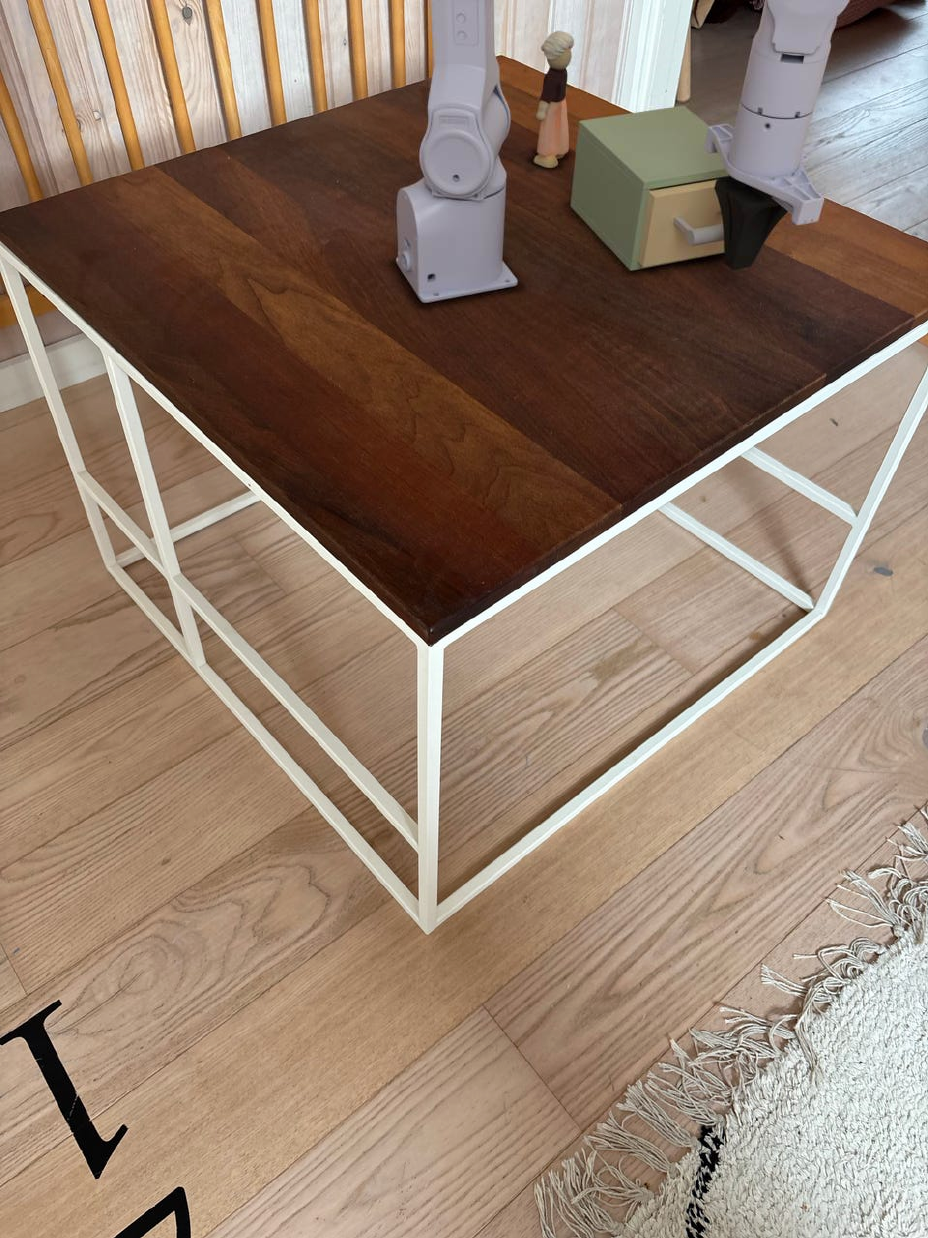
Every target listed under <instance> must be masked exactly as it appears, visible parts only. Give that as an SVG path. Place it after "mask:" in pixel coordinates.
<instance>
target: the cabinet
mask: <svg viewBox="0 0 928 1238" xmlns="http://www.w3.org/2000/svg"><path fill="white" fill-rule="evenodd" d="M709 126H710V125H709V124H707V122H705V121H704V120H702V119H701V118H700V117H699V116H697V115H696V114H695V113H694V112H692V111H691V110H690V109H689V108H687V107H686V106H685V105H679V106H672V107H664V108H659V109H651V110H650V109H649V110H644V111H638V112H637V111H636V112H631V113H625V114H617V115H610V116H603V117H596V118H589V119H582V120H579V121H578V130H577V139H576V149H575V157H574V158H575V159H574V168H573V178H572V187H571V188H572V189H571V197H570V198H571V199H570V207H571V209H572V210H573V211H574V212H575V213H576V214H577V216H579V217H580V219H581V220H583V222H584V223H585V224H586V225H587V226H588V227H589V229H591V230H592V231H593V232H594V233H595V235H596V236H597V237H598V238H599V239H600V240H601V241H602V242H603V243H604V245H606V246H607V247H608V248H609V250H611V252H612V253H613V254H614V255H615V256H616V257H617V258H618V259H619V260H620V262H622V264H623V265H624V266H625V267H626V268H627V269H628V270H629V271H632V272H633V271H636V270H643V269H648V268H652V267H657V266H658V267H659V266H665V265H669V264H674V263H678V262H679V263H680V262H684V261H690V260H694V259H701V258H705V257H710V256H715V255H716V256H717V255H720V254H724V252H721V253H716V254H711V255H705V256H700V257H695V258H690V259H685V260H679V261H674V262H669V263H664V264H658V265H653V266H648V267H642V265H641V264H640V263H639V262H638V256H639V249H640V243H641V237H642V231H643V225H644V218H645V212H646V206H647V200H648V194H649V191H650V189H654V188H660V187H666V186H672V185H678V184H684V183H690V182H696V181H702V180H708V179H713V178H719V177H725V176H729V174H728V173H727V172H726V170H725V169H724V166H723V164H722V161H721V159H720V157H719V155H718V154H717V153H708V152H707V151H706V150H705V149H704V144H705V139H706V134H707V129H708V127H709Z"/></svg>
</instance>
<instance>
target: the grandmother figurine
mask: <svg viewBox="0 0 928 1238" xmlns="http://www.w3.org/2000/svg"><path fill="white" fill-rule="evenodd" d="M574 46H575V39H574V36H573V35H571V34H570V33H568V32H565V31H564V30H556V31H553V32H552V33H550V34H549V35H548V37H547V38H546V39H545V40H544V42H543V44H542V45H541V46H540V49H541V51H542V52H543V54H544V57H545V58H546V62H547V64H548V66H549V69H548V70H547V72H546V74H545V75H544V78H543V83H542V90H541V94H540V97H539V104H538V108H537V112H536V114H535V118H536V120H537V121H538V122H540V126H539V132H538V139H537V148H536V153H537V155H535V157H534V159H533V163H534V164H536V165H538V166H541V167H543V168H546V169H547V168H548V169H552V168H555V167H557V166H558V165H559V161H558V159H561V158H563V157H564V156H565V154H567V153H569V150H570V148H569V147H570V136H569V133H570V132H569V120H568V119H569V118H568V107H567V100H566V96H567V93H568V75H569V74H568V73H569V72H568V70H567V67H569V66H570V63H571V61H572V57H573V55H572V49H573V47H574Z"/></svg>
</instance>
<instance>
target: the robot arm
mask: <svg viewBox="0 0 928 1238" xmlns="http://www.w3.org/2000/svg"><path fill="white" fill-rule="evenodd" d="M850 1H851V0H764V3H763V7H762V13H761V17H760V22H759V27H758V29H757V31H756V32H755V34H754V36H753V40H752V44H751V49H750V54H749V58H748V63H747V68H746V72H745V76H744V81H743V86H742V91H741V95H740V100H739V104H738V108H737V113H736V118H735V123H734V126H732V125H730V124H729V123H721V124H716V125H709V127H708V129H707V134H706V139H705V144H704V149H705V150H706V151H707V152H708V153H717V154H718V155H719V157H720V159H721V161H722V164H723V166H724V169H725V170H726V172H727V173H728V174H729V177H726V178H721V179H718V180H717V181H716V183H715V187H714V189H715V192H716V194H717V197H718V200H719V204H720V208H721V213H722V219H723V230H724V253H723V255H724V264H725V265H726V266H727V267H729V269H730V270H732V271H737V270H742V269H747V268H751V267H752V266H753V264H754V262H755V261H756V258H757V257H758V255H759V253H760V251H761V249H762V248H763V246H764V244H765V243H766V241H767V239H768V238H769V236H770V234H771V233H772V231H773V230H774V229H775V227H776V226H777V225H778V224H779V222H780V221H781V220H782V219H783V217H785V215H787V214H788V213H789V214H791V217H790V221H791V222H792V223H793V224H794V225H796V226H801V225H807V224H813V223H818V222H819V219H820V216H821V212H822V210H823V205H824V202H825V197H824V196H823V195H821V194H820V193H819V192H818V191H817V190H816V188H815V186H814V184H813V183H812V181H811V179H810V177H809V175H808V173H807V172H806V169H805V168H806V167H807V166H808V165H809V161H810V157H809V156H808V154H806V153H805V152H804V149H805V145H806V141H807V138H808V134H809V130H810V127H811V123H812V120H813V119H812V118H813V115H814V112H815V111H814V110H815V107H816V104H817V101H818V97H819V93H820V89H821V86H822V81H823V77H824V75H825V70H826V67H827V64H828V60H829V57H830V56H829V55H830V52H831V48H832V43H831V40H832V35H833V33H834V30H835V29H836V26H837V21H838V17H839V16H840V15H841V14H842V12H843V11H844V10H845V9H846V7H847V6H848V4H849V3H850ZM430 20H431V36H432V38H431V39H432V55H433V57H432V58H433V59H432V60H433V69H432V76H431V83H430V89H429V94H428V102H427V128H426V132H425V134H424V136H423V139H422V141H421V143H420V147H419V154H418V157H419V159H418V161H419V165H420V170H421V172H422V174H423V177H422V178H421V179H420V180H418V181H416V182H415V183H413V184H410V185H408V186H405V187H402V188H400V189H398V192H397V196H396V232H397V233H396V234H397V257H396V258H395V263H396V264H397V266H398V268H399V270H400V271H401V272H402V274H403V275H404V277H405V278H406V280H407V282H408V283H409V285H410V286H411V288H412V289H413V292H414V293H415V294H416V296H417V297H418V299H419V301H420V302H422V303H423V304H427V303H433V302H439V301H443V300H449V299H454V298H459V297H464V296H470V295H476V294H480V293H486V292H491V291H496V290H502V289H506V288H512V287H516V286H517V285H518V283H519V281H518V280H519V279H517V277H516V276H515V275H514V273H513V272H512V271H511V269H509V267H508V265H507V264H506V263H505V261H504V260H503V255H504V237H505V235H504V234H505V218H506V217H505V213H506V195H507V176H508V175H507V171H506V170H505V168H504V165H503V164H502V161H501V158H500V155H499V152H500V150H501V148H502V145H503V143H504V142H505V141H506V139H507V137H508V135H509V132H510V129H511V123H512V121H511V120H512V117H511V110H510V107H509V104H508V101H507V100H506V98H505V95H504V94H503V93H504V92H503V90H502V88H501V81H500V80H501V78H500V77H501V76H500V65H499V62H498V60H497V57H496V52H495V0H430Z"/></svg>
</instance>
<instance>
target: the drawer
mask: <svg viewBox="0 0 928 1238" xmlns="http://www.w3.org/2000/svg"><path fill="white" fill-rule="evenodd" d="M726 177H729V176H725V177H719V178H713V179H708V180H702V181H696V182H690V183H684V184H678V185H672V186H666V187H660V188H654V189H650V191H649V194H648V200H647V206H646V212H645V218H644V225H643V231H642V237H641V243H640V249H639V256H638V262H639V263H640V264H641V265H642V267H648V266H653V265H658V264H664V263H669V262H674V261H679V260H685V259H690V258H695V257H700V256H705V255H711V254H716V253H721V252H724V230H723V219H722V213H721V208H720V204H719V200H718V197H717V194H716V192H715V189H714V187H715V183H716V181H717V180H718V179H721V178H726ZM721 254H722V253H721ZM716 255H717V254H716ZM711 256H712V255H711ZM700 258H701V257H700ZM695 259H696V258H695ZM690 260H691V259H690ZM685 261H686V260H685ZM674 263H675V262H674ZM669 264H670V263H669ZM664 265H665V264H664ZM653 267H654V266H653ZM648 268H649V267H648Z"/></svg>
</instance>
